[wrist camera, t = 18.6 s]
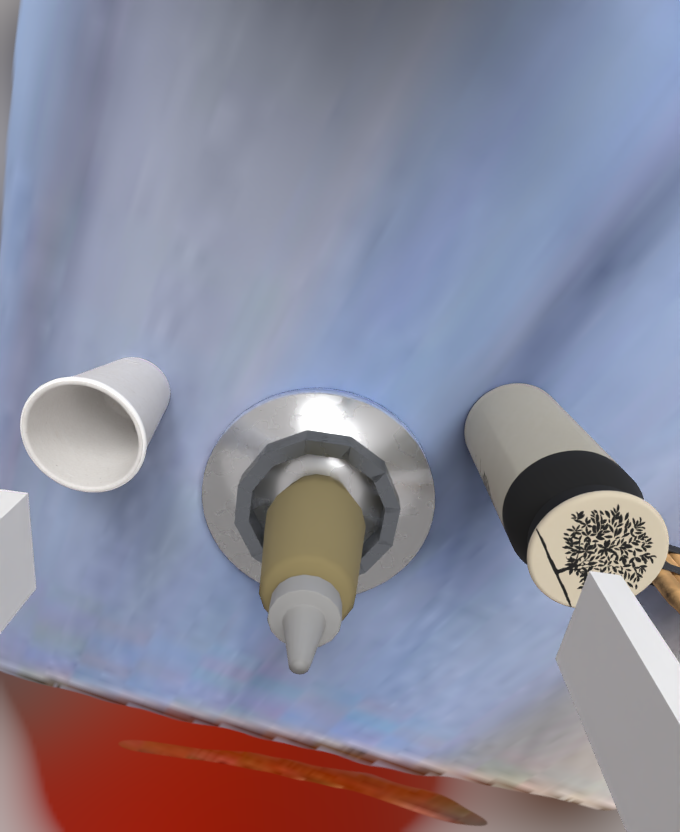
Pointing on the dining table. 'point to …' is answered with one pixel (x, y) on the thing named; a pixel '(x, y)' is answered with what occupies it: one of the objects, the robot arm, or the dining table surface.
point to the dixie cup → (95, 423)
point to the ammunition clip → (670, 578)
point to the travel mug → (561, 495)
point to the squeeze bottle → (310, 564)
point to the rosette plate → (325, 455)
